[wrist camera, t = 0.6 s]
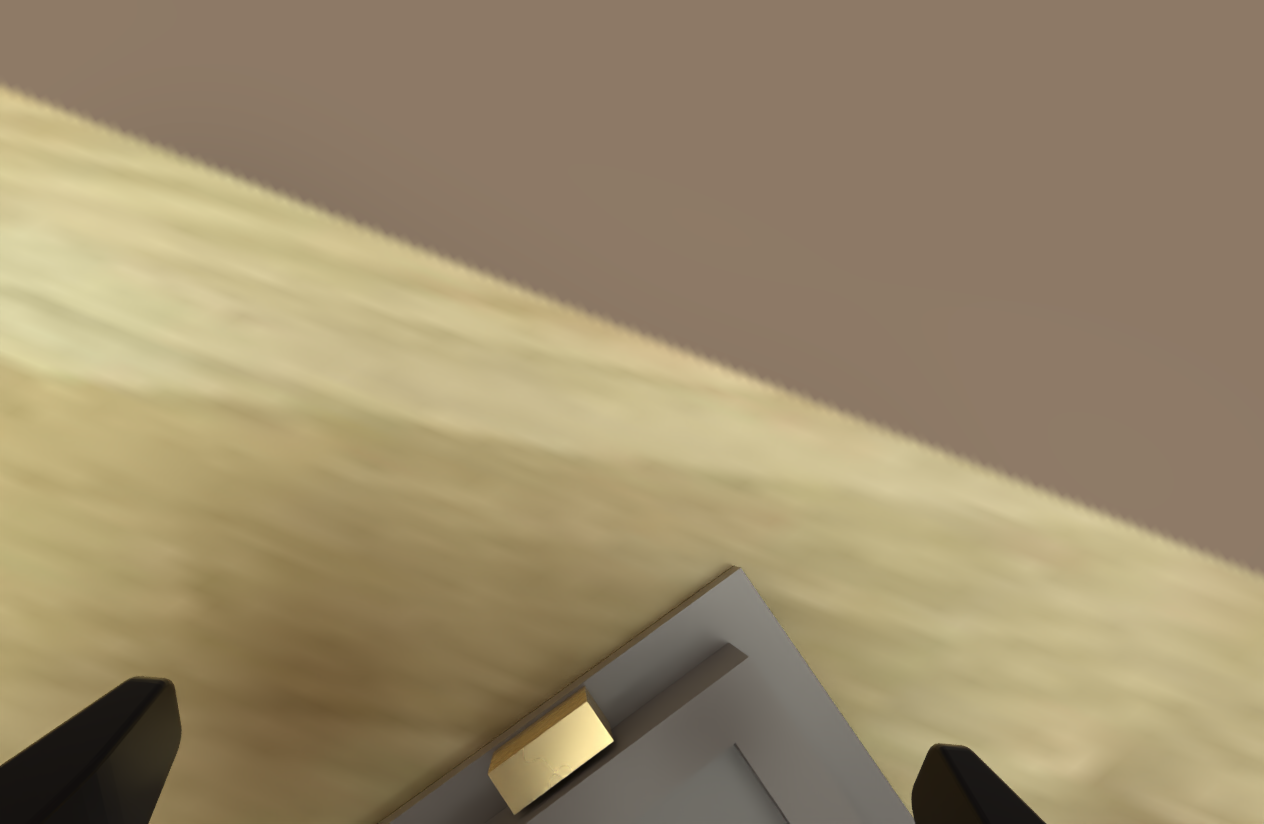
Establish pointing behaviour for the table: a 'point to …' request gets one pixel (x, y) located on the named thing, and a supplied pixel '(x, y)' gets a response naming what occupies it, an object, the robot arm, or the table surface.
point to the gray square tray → (677, 737)
